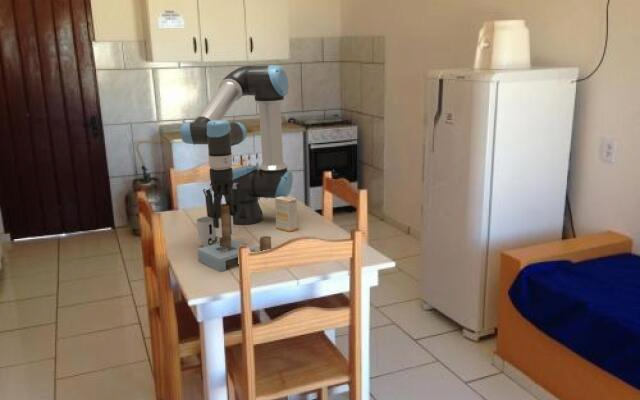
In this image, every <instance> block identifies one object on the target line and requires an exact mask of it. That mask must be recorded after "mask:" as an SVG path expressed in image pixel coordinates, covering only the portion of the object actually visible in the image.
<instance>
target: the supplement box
mask: <svg viewBox="0 0 640 400" xmlns="http://www.w3.org/2000/svg"><path fill="white" fill-rule="evenodd" d="M297 201H298V200H297V198H295V197H290V196H287V197H286V196H280V197H277V198H274V205H275V225H276V227H275V228H276V229H278V230H280V231H281V230H282V231H285V232H288V233H292V232H294V231H298V228H299V227H298V208H297V207H298V206H297V203H298V202H297Z"/></svg>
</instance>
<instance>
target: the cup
mask: <svg viewBox="0 0 640 400" xmlns="http://www.w3.org/2000/svg"><path fill="white" fill-rule="evenodd" d="M195 221H196V227H197V234H198V237H199V241H200V243H201V246H202V247H206V246H210V245H213V244H217V243H218V239H219V237H218V236H216V229H215V228H214V226H213V218H210V217H208V216H203V217H199V218H196V220H195Z"/></svg>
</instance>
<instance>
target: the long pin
mask: <svg viewBox="0 0 640 400" xmlns="http://www.w3.org/2000/svg"><path fill="white" fill-rule="evenodd" d="M219 218H221V224H222V237H221V238H220V237H218V239H219V242H218V243H220V246H222V247H227V246H231V240H232V234H231V227H230V210H229V204H226V203H221V204H220V213H219Z"/></svg>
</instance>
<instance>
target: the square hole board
mask: <svg viewBox="0 0 640 400" xmlns="http://www.w3.org/2000/svg"><path fill="white" fill-rule="evenodd" d="M240 245H245V244H244V243H241V242H239V241H237V240H234V239H231V246H227V247H222V246H220V243H219V242H217V243H216V244H213V245H210V246H206V247H203V246H202V247H199V248H197V250H196V251H197V260H198V262H199V263H202V264H203V265H206V266H208V267H210V268H212V269H214V270H216V271H218V272H220V273H222V272H224V271H227V264H226V261H229V260H233V259H236V258H239V257H238V247H239V246H240ZM247 246H248V247H249V249H250V251H251V252H255V251H256V249H255V248H254V247H252V246H249V245H247ZM223 250H226V251H225V252H223ZM255 253H256V252H255Z"/></svg>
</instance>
